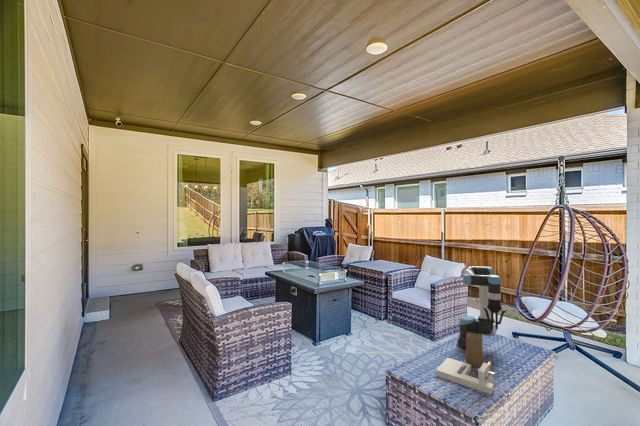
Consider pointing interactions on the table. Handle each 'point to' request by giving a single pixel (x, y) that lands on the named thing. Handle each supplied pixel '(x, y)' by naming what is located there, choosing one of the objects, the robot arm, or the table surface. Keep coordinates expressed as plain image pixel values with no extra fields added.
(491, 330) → the robot arm
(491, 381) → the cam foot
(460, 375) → the stand
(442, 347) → the table surface
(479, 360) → the wooden block
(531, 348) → the table surface
